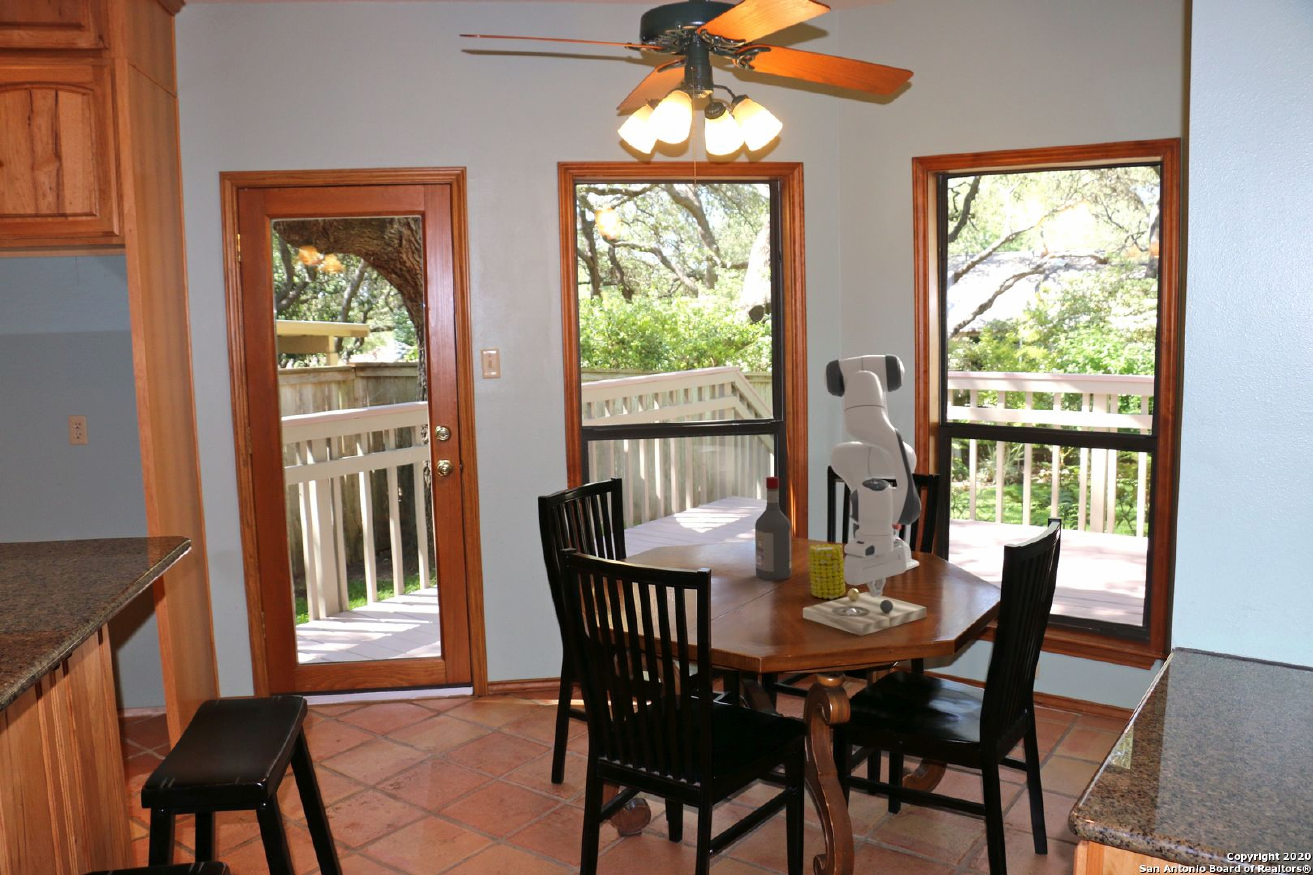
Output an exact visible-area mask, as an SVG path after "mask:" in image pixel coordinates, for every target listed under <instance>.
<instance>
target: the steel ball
mask: <svg viewBox="0 0 1313 875" xmlns="http://www.w3.org/2000/svg"><path fill="white" fill-rule="evenodd" d="M845 613H846V614H857V611H856V610H855V609H852V608H850V609H848V610H847V611H846V612H845Z"/></svg>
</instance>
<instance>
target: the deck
mask: <svg viewBox="0 0 1313 875" xmlns="http://www.w3.org/2000/svg"><path fill="white" fill-rule="evenodd" d="M859 593H860V592H859ZM884 600H889V601H891V602H892V604H893V609H892V611H891V612H889V613H885V612H883V611H882V610H881V608H880V604H881V602H882V601H884ZM850 608H852V609H855V610H856V611H857V614H846V613H845V612H846V611H847V610H848V609H850ZM802 617H803V618H802V619H805V620H809V621H813V622H815V623H819V624H822V625H826V626H829V627H832V628H834V629H835V628H836V629H839V630H841V631H845V632H849V633H851V634H854V635H858V636H864V635H869V634H873V633H876V632H879V631H882V630H886V629H890V628H894V627H896V626H899V625H903V624H907V623H910V622H914V621H917V620H920V619H924V618H927V607H925V606H923V605H919V604H915V603H910V602H907V601H903V600H900V599H895V598H892V597H890V596H889V597H888V596H885V595H879V596H876V597H872V596H870V591H865V592H861V593H860V596H859V598H858V599H857V600H855V601H852V600H850V599H849V598H848V596H844V597H842V598H836V599H832V600H830V601H825V602H822V603H818V604H815V605H814V604H813V605H810V606H806V607H803V608H802Z"/></svg>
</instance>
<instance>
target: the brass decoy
mask: <svg viewBox="0 0 1313 875" xmlns="http://www.w3.org/2000/svg"><path fill="white" fill-rule="evenodd" d="M846 594H847V596H846V597H848V598H849V599H850V600H852V601H855V600H857V599H858V598H859V596H860V591H859V590H858V589H857V588H849V590H848V591H847V593H846Z"/></svg>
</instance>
